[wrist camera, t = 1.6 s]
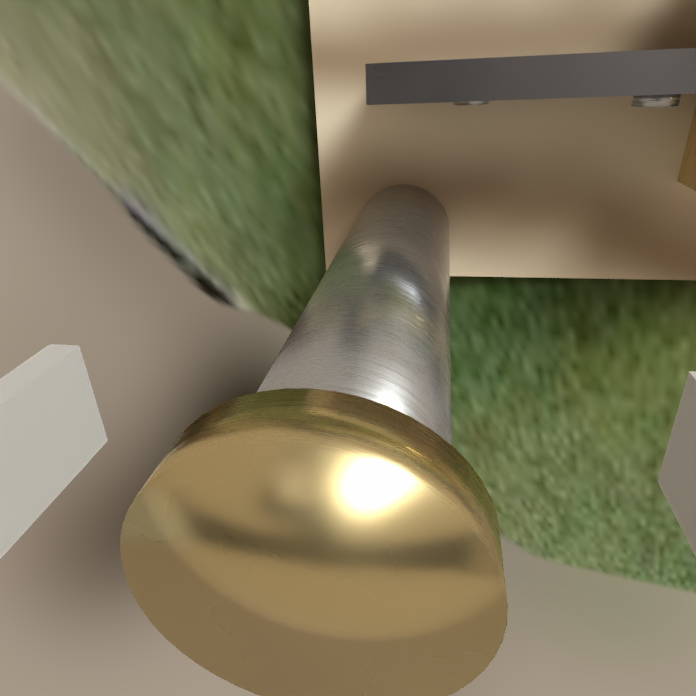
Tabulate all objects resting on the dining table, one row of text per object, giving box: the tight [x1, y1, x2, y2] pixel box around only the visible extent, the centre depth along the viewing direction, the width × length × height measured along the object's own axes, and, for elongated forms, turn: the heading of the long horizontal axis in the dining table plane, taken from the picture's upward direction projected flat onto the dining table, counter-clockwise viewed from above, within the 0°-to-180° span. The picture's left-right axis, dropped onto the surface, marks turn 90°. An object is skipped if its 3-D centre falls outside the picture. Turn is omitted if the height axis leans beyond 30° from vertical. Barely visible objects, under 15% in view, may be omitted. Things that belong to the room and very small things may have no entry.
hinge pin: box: [120, 184, 508, 696], centre depth 15 cm, size 5×5×18 cm
